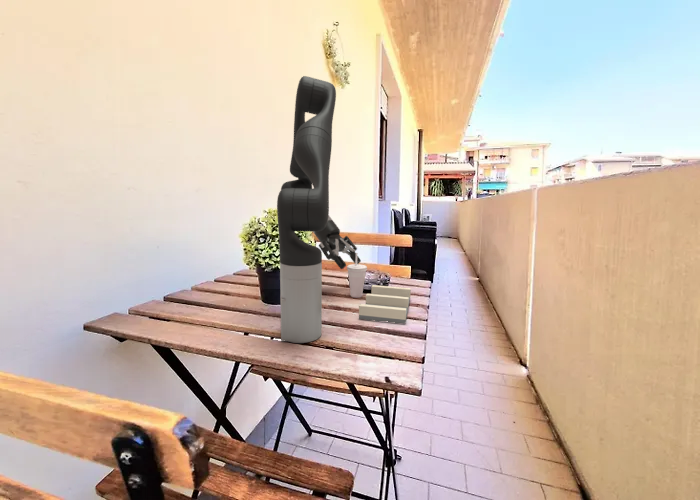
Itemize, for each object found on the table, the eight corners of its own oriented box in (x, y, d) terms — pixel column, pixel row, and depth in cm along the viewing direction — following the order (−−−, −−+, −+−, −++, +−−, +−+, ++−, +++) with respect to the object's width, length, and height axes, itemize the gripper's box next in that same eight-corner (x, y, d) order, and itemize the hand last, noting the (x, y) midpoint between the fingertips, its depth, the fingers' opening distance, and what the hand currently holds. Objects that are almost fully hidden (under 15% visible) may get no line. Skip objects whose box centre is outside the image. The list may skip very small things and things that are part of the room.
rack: (405, 324, 85) (405, 310, 84) (358, 319, 88) (359, 305, 87) (410, 299, 104) (410, 288, 104) (372, 296, 107) (372, 285, 106)
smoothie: (342, 296, 106) (343, 253, 104) (352, 291, 112) (353, 250, 109) (360, 300, 103) (362, 255, 101) (369, 294, 109) (370, 252, 106)
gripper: (315, 220, 103) (346, 261, 99) (342, 217, 115) (370, 254, 111) (302, 236, 107) (331, 276, 103) (329, 232, 119) (356, 268, 114)
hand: (351, 265), depth 107 cm, fingers open, 8 cm apart
